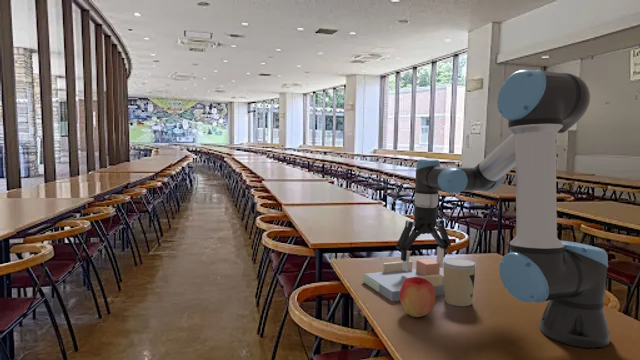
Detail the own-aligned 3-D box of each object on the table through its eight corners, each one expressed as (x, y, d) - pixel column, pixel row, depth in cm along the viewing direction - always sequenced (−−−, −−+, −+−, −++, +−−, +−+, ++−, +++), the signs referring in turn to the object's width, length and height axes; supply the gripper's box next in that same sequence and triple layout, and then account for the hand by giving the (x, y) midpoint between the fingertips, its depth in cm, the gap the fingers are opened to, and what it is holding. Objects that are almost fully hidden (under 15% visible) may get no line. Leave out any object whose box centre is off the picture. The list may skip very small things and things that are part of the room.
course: (458, 292, 140) (459, 274, 139) (391, 301, 131) (392, 281, 130) (424, 275, 156) (425, 259, 156) (363, 282, 147) (363, 264, 147)
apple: (392, 310, 124) (393, 275, 123) (421, 307, 127) (423, 273, 126) (411, 324, 115) (412, 287, 114) (441, 320, 118) (443, 283, 117)
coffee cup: (478, 307, 127) (479, 266, 126) (444, 306, 128) (445, 265, 127) (471, 296, 136) (472, 258, 135) (439, 295, 137) (440, 257, 136)
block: (439, 274, 148) (440, 263, 148) (425, 276, 146) (426, 264, 146) (429, 270, 153) (430, 258, 153) (416, 271, 151) (416, 260, 151)
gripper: (449, 203, 155) (446, 262, 157) (387, 205, 145) (384, 268, 147) (464, 206, 148) (460, 268, 150) (399, 208, 138) (396, 275, 141)
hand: (422, 268), depth 149 cm, fingers open, 13 cm apart
